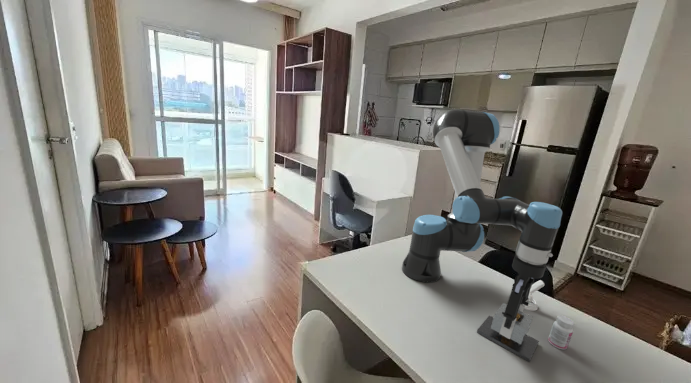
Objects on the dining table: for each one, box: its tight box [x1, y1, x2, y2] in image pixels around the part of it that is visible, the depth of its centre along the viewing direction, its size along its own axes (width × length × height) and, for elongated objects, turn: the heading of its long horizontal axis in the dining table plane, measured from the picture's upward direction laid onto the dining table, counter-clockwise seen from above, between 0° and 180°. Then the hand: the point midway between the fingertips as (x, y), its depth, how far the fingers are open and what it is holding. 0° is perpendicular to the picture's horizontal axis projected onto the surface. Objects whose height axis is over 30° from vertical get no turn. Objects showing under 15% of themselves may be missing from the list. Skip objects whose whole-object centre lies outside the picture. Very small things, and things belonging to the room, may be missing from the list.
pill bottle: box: [547, 314, 575, 350], centre depth 85 cm, size 5×5×8 cm
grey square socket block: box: [491, 302, 533, 344], centre depth 85 cm, size 8×8×5 cm
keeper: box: [476, 315, 540, 363], centre depth 86 cm, size 14×10×7 cm
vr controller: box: [523, 279, 545, 312], centre depth 104 cm, size 8×12×7 cm
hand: (509, 328), depth 86 cm, fingers closed on grey square socket block, 8 cm apart
